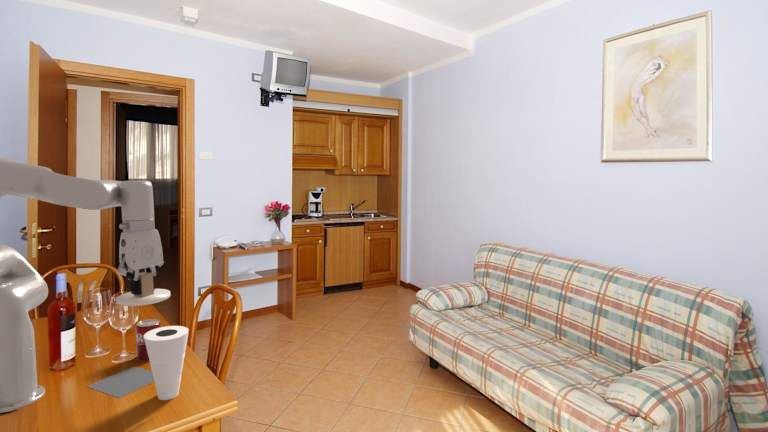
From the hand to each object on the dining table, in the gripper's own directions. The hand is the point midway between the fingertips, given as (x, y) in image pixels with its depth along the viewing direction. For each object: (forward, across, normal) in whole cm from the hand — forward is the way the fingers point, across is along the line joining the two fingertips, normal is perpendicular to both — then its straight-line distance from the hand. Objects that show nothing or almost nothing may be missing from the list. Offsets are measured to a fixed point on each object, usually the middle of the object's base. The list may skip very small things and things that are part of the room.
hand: (143, 291), depth 116 cm
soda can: (+28, +14, +17) cm, 35 cm away
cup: (+28, -1, -9) cm, 30 cm away
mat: (+28, -1, +8) cm, 29 cm away
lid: (+2, 0, 0) cm, 2 cm away
